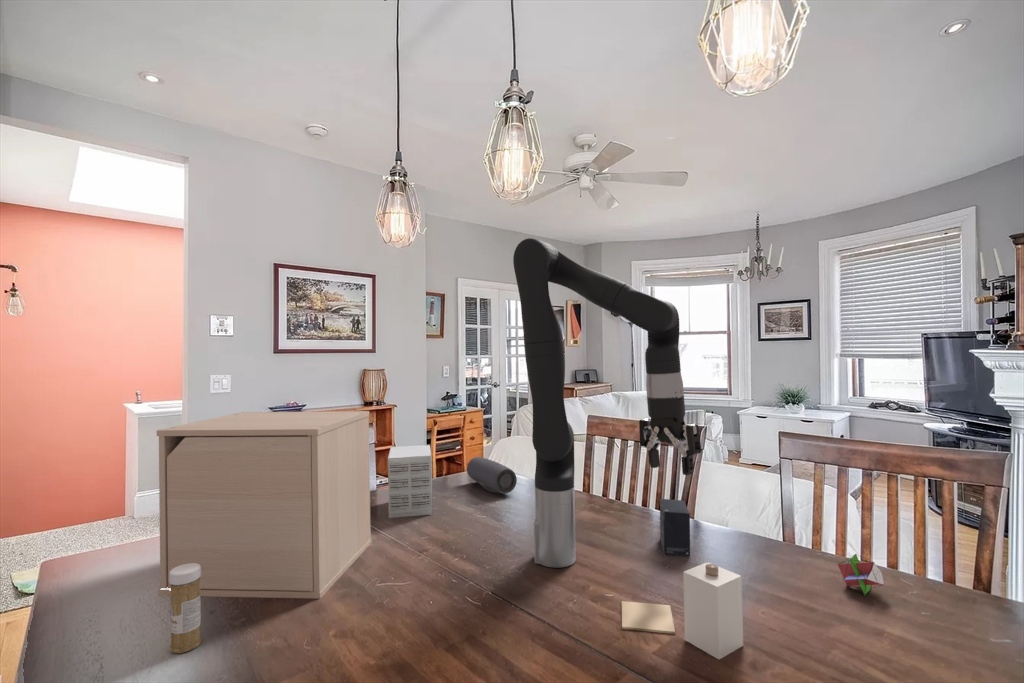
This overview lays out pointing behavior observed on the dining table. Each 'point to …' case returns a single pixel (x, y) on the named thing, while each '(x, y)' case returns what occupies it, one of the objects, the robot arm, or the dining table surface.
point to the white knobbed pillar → (713, 609)
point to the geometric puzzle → (861, 574)
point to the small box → (674, 527)
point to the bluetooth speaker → (492, 475)
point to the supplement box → (410, 481)
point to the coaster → (647, 617)
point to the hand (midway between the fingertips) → (671, 470)
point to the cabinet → (265, 501)
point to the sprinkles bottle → (185, 607)
